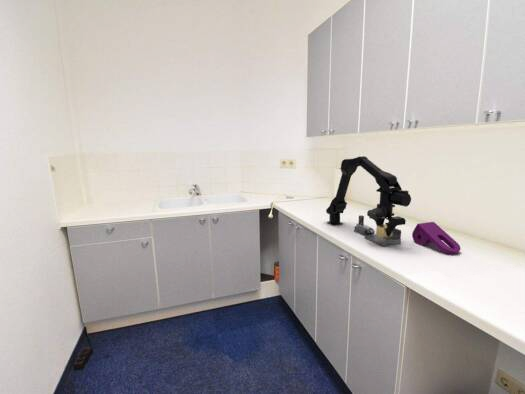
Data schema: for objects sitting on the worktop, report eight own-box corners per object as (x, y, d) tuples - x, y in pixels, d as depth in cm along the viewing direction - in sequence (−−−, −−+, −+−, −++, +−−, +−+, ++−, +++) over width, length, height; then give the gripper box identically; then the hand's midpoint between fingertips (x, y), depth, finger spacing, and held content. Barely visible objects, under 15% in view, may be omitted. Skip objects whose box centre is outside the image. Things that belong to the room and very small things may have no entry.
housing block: (375, 235, 129) (376, 225, 128) (384, 234, 130) (385, 224, 129) (383, 238, 124) (384, 228, 123) (392, 237, 126) (393, 227, 125)
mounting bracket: (455, 263, 117) (425, 234, 131) (465, 250, 112) (433, 221, 126) (438, 266, 114) (409, 236, 128) (448, 252, 110) (417, 223, 123)
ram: (356, 227, 145) (356, 215, 144) (360, 227, 146) (361, 214, 144) (371, 234, 134) (372, 221, 132) (375, 234, 134) (376, 220, 133)
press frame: (350, 231, 144) (350, 220, 143) (368, 228, 147) (368, 218, 146) (382, 247, 121) (383, 234, 120) (403, 243, 125) (404, 231, 124)
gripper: (358, 199, 130) (357, 230, 133) (386, 208, 113) (384, 243, 116) (377, 198, 134) (375, 227, 137) (407, 205, 116) (404, 240, 119)
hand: (384, 234), depth 127 cm, fingers closed on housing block, 5 cm apart
